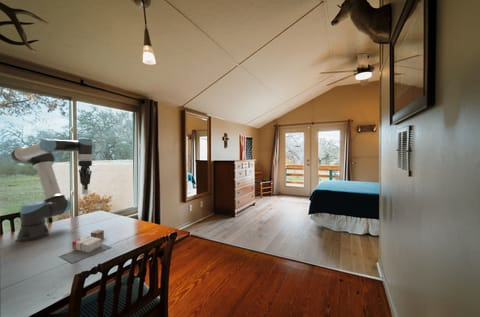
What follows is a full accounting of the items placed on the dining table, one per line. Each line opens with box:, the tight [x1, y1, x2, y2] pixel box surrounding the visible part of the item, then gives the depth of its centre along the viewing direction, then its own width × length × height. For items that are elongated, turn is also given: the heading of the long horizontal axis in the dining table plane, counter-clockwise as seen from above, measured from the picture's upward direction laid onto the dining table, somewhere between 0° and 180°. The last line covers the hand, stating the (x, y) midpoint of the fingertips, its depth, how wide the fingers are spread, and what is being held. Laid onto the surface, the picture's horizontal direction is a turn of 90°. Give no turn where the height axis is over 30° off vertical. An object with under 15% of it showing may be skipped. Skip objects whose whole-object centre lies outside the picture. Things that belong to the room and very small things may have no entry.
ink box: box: [71, 235, 102, 253], centre depth 119 cm, size 9×5×12 cm
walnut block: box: [90, 229, 105, 240], centre depth 133 cm, size 5×5×5 cm
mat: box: [58, 242, 112, 264], centre depth 115 cm, size 14×20×1 cm
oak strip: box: [61, 249, 77, 256], centre depth 118 cm, size 1×18×1 cm, turn 153°
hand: (85, 194), depth 138 cm, fingers closed
